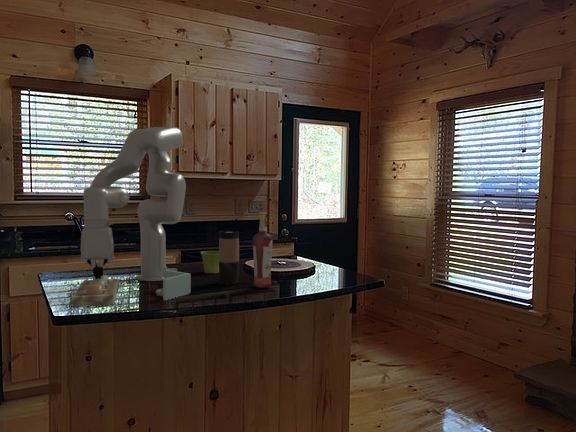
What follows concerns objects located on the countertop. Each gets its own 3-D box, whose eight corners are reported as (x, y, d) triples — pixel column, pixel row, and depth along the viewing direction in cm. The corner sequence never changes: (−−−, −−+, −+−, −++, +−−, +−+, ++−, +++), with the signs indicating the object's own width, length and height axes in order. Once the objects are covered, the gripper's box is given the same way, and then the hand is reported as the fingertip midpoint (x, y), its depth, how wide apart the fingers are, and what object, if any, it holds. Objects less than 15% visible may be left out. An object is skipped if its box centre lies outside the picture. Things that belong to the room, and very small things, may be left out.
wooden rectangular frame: (119, 286, 179) (119, 278, 179) (113, 304, 154) (113, 295, 154) (84, 288, 176) (83, 280, 176) (72, 306, 151) (71, 297, 151)
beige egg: (108, 288, 176) (107, 274, 175) (106, 291, 171) (106, 276, 171) (93, 288, 174) (93, 274, 174) (92, 291, 170) (91, 277, 169)
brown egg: (103, 298, 160) (103, 283, 160) (101, 302, 156) (101, 286, 155) (87, 299, 159) (87, 284, 159) (85, 303, 154) (85, 287, 154)
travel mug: (242, 282, 189) (242, 231, 188) (232, 286, 182) (232, 232, 181) (225, 280, 192) (225, 229, 191) (214, 284, 186) (214, 231, 184)
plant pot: (213, 269, 215) (213, 250, 214) (227, 272, 209) (227, 252, 208) (196, 272, 208) (196, 252, 208) (209, 275, 202) (209, 254, 201)
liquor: (268, 290, 176) (269, 212, 174) (249, 288, 178) (249, 212, 176) (274, 286, 183) (275, 211, 181) (256, 284, 185) (257, 211, 183)
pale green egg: (105, 293, 168) (105, 278, 167) (104, 296, 163) (104, 281, 163) (90, 293, 167) (90, 279, 166) (89, 297, 162) (88, 282, 162)
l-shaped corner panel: (165, 290, 177) (165, 269, 176) (190, 294, 170) (190, 273, 170) (139, 297, 166) (139, 275, 166) (165, 302, 160) (165, 279, 160)
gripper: (121, 222, 169) (122, 275, 170) (74, 223, 165) (76, 277, 167) (119, 225, 162) (120, 279, 163) (70, 226, 158) (72, 282, 159)
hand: (98, 278), depth 165 cm, fingers closed
